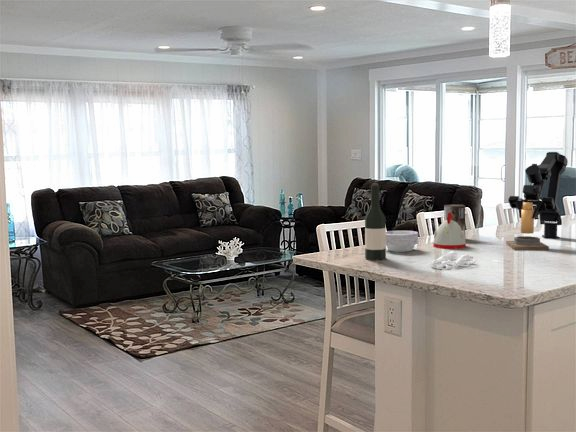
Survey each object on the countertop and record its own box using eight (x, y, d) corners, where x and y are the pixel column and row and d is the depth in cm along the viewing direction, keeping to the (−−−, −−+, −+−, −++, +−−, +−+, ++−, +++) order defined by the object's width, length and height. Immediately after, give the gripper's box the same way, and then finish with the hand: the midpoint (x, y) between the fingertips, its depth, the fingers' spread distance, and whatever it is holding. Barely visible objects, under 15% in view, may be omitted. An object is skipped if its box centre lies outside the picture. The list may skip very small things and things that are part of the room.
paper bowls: (383, 247, 297) (383, 229, 296) (418, 247, 294) (418, 229, 293) (381, 253, 282) (381, 234, 281) (418, 253, 279) (418, 234, 278)
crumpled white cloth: (452, 276, 240) (453, 264, 239) (419, 267, 250) (420, 256, 249) (481, 266, 253) (482, 256, 252) (448, 259, 263) (449, 248, 263)
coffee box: (463, 238, 319) (463, 204, 318) (465, 240, 313) (465, 205, 311) (443, 238, 320) (443, 204, 318) (445, 240, 314) (445, 205, 312)
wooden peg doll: (518, 232, 291) (518, 202, 290) (527, 231, 293) (528, 201, 292) (526, 233, 286) (527, 203, 285) (536, 233, 288) (536, 202, 287)
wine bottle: (387, 257, 272) (387, 183, 269) (383, 260, 264) (383, 184, 261) (367, 256, 275) (367, 183, 271) (362, 259, 267) (362, 184, 264)
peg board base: (506, 244, 299) (506, 235, 299) (538, 244, 298) (539, 235, 297) (514, 250, 283) (514, 240, 283) (548, 250, 282) (548, 240, 281)
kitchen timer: (430, 248, 293) (430, 214, 291) (436, 243, 305) (436, 210, 304) (463, 249, 287) (463, 214, 286) (467, 244, 300) (468, 211, 298)
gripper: (510, 177, 296) (500, 204, 289) (553, 178, 284) (544, 206, 277) (516, 194, 303) (506, 221, 296) (558, 195, 291) (550, 223, 284)
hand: (526, 217), depth 288 cm, fingers closed on wooden peg doll, 5 cm apart
